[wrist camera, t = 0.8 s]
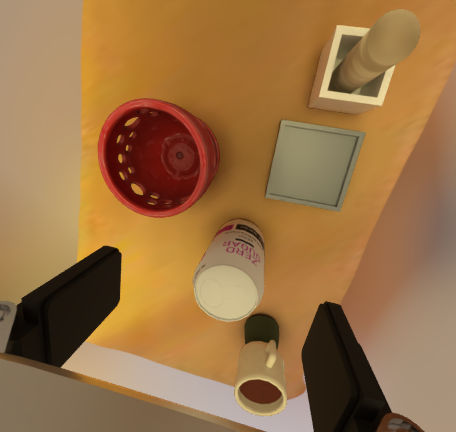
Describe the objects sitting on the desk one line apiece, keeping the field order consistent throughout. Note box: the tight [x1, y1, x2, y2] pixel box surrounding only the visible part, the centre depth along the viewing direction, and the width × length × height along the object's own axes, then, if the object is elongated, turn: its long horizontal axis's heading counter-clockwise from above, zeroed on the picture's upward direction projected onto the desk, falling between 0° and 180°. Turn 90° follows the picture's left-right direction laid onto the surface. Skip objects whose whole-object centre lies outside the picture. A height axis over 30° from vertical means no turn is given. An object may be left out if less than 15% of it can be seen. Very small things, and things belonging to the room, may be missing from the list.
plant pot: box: [98, 98, 220, 218], centre depth 31 cm, size 13×13×12 cm
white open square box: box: [308, 25, 395, 115], centre depth 27 cm, size 7×7×7 cm
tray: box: [265, 120, 366, 212], centre depth 33 cm, size 11×11×2 cm
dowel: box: [327, 9, 420, 94], centre depth 24 cm, size 4×4×13 cm
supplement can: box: [193, 219, 265, 322], centre depth 32 cm, size 8×8×15 cm
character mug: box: [234, 315, 287, 416], centre depth 37 cm, size 11×7×13 cm, turn 162°
